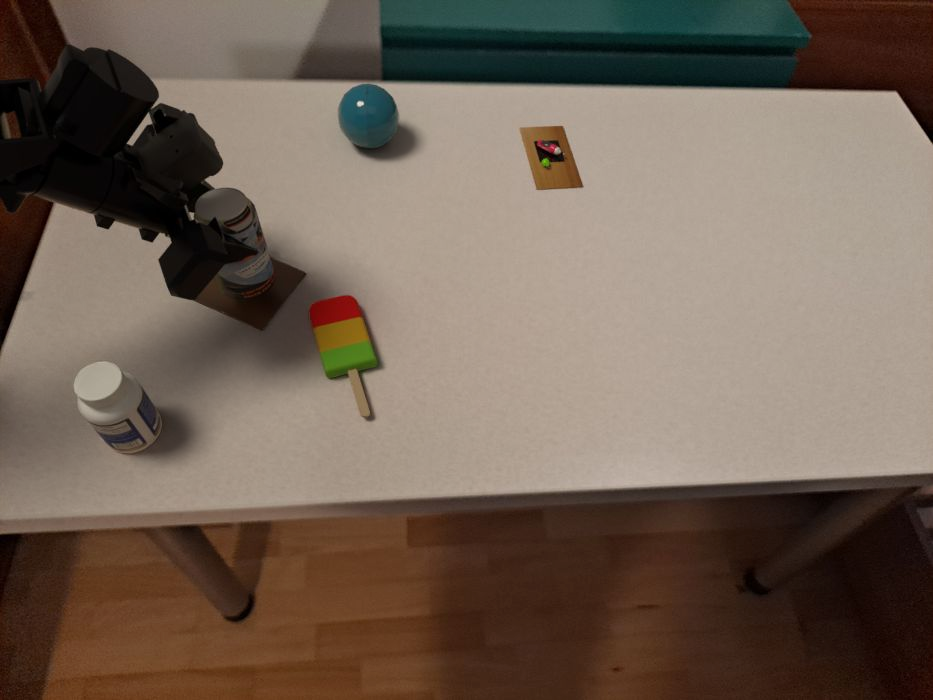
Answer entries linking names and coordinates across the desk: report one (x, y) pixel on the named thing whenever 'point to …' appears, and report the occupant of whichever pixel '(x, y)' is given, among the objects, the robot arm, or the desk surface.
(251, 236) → the beverage can
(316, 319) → the popsicle
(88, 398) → the pill bottle
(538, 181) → the board
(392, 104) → the ball
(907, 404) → the desk surface
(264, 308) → the coaster
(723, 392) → the desk surface
